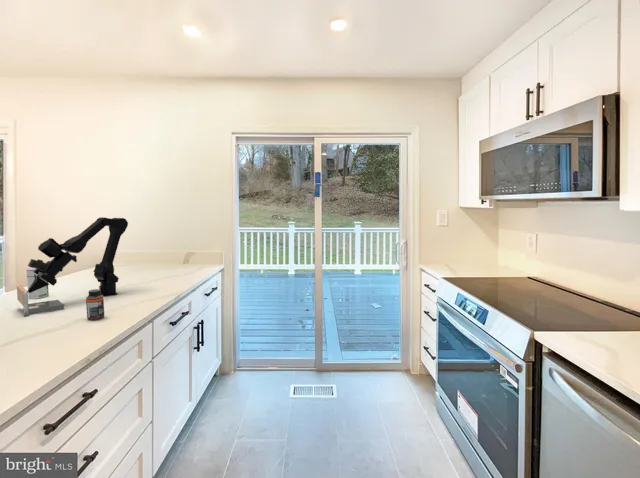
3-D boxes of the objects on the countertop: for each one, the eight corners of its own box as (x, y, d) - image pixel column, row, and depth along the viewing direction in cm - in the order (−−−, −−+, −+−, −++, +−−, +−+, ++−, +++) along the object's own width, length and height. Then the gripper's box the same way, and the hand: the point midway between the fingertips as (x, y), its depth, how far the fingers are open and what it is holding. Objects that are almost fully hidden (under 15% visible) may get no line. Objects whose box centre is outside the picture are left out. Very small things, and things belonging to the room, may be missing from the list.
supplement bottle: (91, 316, 151) (90, 288, 150) (107, 315, 151) (106, 288, 150) (83, 320, 145) (82, 292, 144) (99, 320, 145) (98, 291, 144)
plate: (58, 304, 168) (57, 282, 167) (65, 310, 158) (64, 287, 158) (19, 309, 158) (17, 286, 157) (24, 316, 149) (22, 292, 148)
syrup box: (38, 299, 176) (36, 268, 175) (27, 298, 178) (26, 268, 176) (49, 296, 182) (47, 266, 181) (39, 295, 183) (37, 266, 182)
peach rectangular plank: (22, 298, 161) (21, 285, 160) (27, 305, 151) (26, 290, 150) (17, 299, 160) (16, 285, 159) (23, 306, 150) (22, 291, 149)
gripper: (37, 250, 167) (7, 277, 161) (45, 254, 154) (13, 284, 147) (59, 265, 174) (31, 292, 167) (69, 270, 161) (39, 300, 154)
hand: (28, 292), depth 159 cm, fingers closed
